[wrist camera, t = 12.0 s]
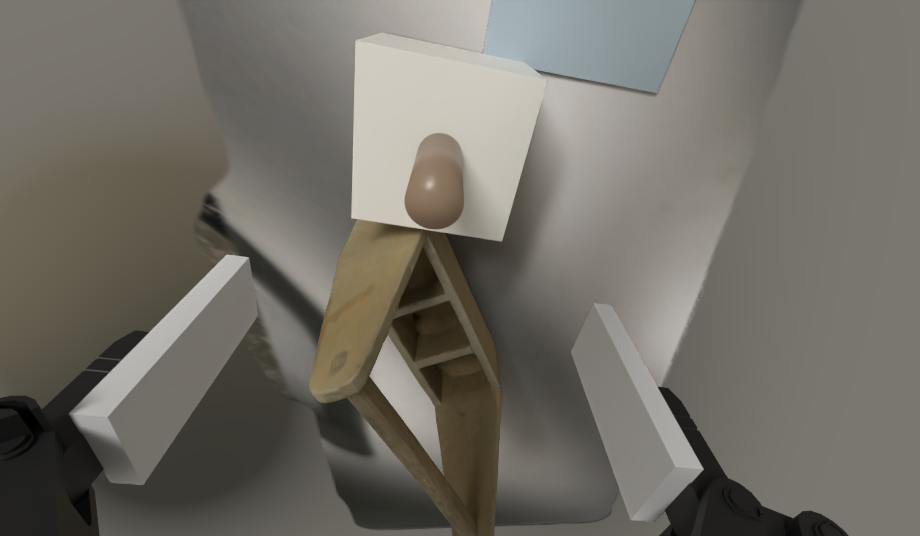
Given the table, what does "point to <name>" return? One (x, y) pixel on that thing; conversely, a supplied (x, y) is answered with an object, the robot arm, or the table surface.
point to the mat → (590, 37)
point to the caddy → (417, 361)
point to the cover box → (439, 135)
